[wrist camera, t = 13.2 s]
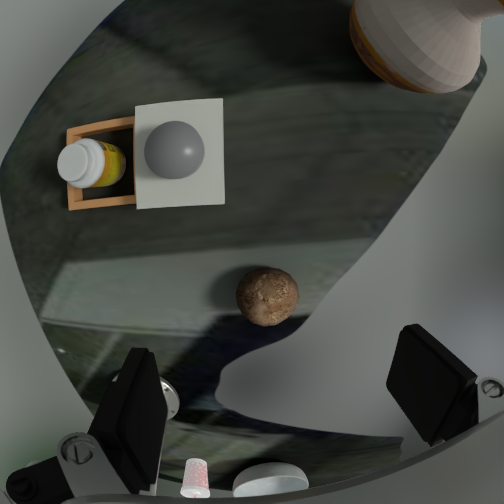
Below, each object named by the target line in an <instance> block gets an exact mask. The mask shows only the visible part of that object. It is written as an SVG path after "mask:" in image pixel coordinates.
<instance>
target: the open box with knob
mask: <svg viewBox="0 0 504 504" xmlns="http://www.w3.org/2000/svg"><path fill="white" fill-rule="evenodd" d="M128 128H133V161H134V189H135V195H126V196H116V197H107V198H98V199H90V200H83V198H82V188H76V187H73V186H72V185H70V184H69V183H68V182H67V189H68V204H69V210H76V209H85V208H94V207H103V206H113V205H124V204H135V203H137V209H145V208H159V207H175V206H192V205H213V204H225V190H224V146H223V98H219V99H199V100H186V101H175V102H165V103H157V104H149V105H142V106H135V116H130V117H124V118H118V119H113V120H107V121H102V122H97V123H93V124H88V125H84V126H79V127H75V128H71V129H67V146H68V145H70V144H73V143H74V142H76V141H78V140H80V139H81V137H84V136H89V135H94V134H99V133H104V132H110V131H116V130H122V129H128Z"/></svg>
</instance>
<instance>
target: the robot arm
mask: <svg viewBox="0 0 504 504" xmlns="http://www.w3.org/2000/svg"><path fill="white" fill-rule="evenodd" d="M477 377H478V376H477V375H476V374H475V373H474V372H473V371H472V370H470V368H468V367H467V366H466V365H465V364H464V363H463V362H462V361H461V360H460V359H458V358H457V357H456V356H455V355H454V354H452V352H450V351H449V350H448V349H447V348H446V347H445V346H444V345H443V344H441V343H440V342H439V341H438V340H437V339H436V338H434V337H433V336H432V335H431V334H430V333H428V332H427V331H426V330H425V329H424V328H423V327H421V326H420V325H419V324H412V325H407V326H405V327H404V328H403V330H402V331H401V332H400V334H399V338H398V342H397V346H396V350H395V354H394V357H393V361H392V365H391V368H390V371H389V375H388V378H387V382H386V386H387V389H388V391H389V392H390V393H391V395H392V396H393V397H394V399H395V400H396V402H397V403H398V405H399V406H400V407H401V409H402V410H403V412H404V413H405V414H406V416H407V417H408V419H409V420H410V422H411V423H412V425H413V426H414V427H415V429H416V430H417V432H418V433H419V434H420V436H421V438H422V439H423V440H424V441H425V442H428V444H429V445H430V447H433V446H435V445H437V444H439V443H441V442H442V440H443V439H444V440H445V442H444V443H442V444H440V445H438V446H436V447H434V448H432V449H430V450H428V451H426V452H423V453H421V454H419V455H417V456H414V457H412V458H409V459H407V460H405V461H402V462H399V463H397V464H394V465H392V466H389V467H386V468H383V469H381V470H378V471H375V472H372V473H369V474H365V475H362V476H359V477H355V478H352V479H348V480H345V481H341V482H337V483H333V484H328V485H324V486H319V487H315V488H310V489H304V490H299V491H293V492H286V493H279V494H271V495H261V496H249V497H231V498H186V497H168V496H156V487H157V479H158V472H159V465H160V459H161V453H162V447H163V441H164V435H165V430H166V424H167V420H169V419H170V418H172V417H174V415H175V414H176V413H177V411H178V409H179V397H178V394H177V392H176V390H175V389H174V388H173V387H172V385H171V384H169V383H168V382H167V381H166V380H164V379H163V378H162V377H160V376H159V373H158V369H157V365H156V361H155V356H154V353H153V352H149V350H148V349H147V348H131V350H130V352H129V354H128V356H127V358H126V360H125V362H124V364H123V366H122V368H121V370H120V373H118V374H117V375H116V376H115V377H114V378H113V380H112V382H111V383H110V384H109V386H108V388H107V390H106V392H105V395H104V397H103V399H102V401H101V403H100V405H99V408H98V410H97V412H96V414H95V417H94V419H93V421H92V423H91V426H90V428H89V431H88V433H87V434H86V433H83V432H76V433H71V434H69V435H66V436H64V438H62V439H61V440H60V441H59V443H58V445H57V449H56V453H57V456H55V457H52V458H50V459H47V460H45V461H32V462H30V463H29V464H28V465H27V466H26V468H23V469H20V470H17V471H15V472H13V473H12V474H11V475H10V476H9V477H8V479H7V482H6V490H5V491H3V490H1V489H0V504H504V383H503V382H502V381H500V380H498V379H496V378H493V377H485V378H482V379H481V380H480V381H479V382H478V384H475V381H476V379H477Z"/></svg>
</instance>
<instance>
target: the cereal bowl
mask: <svg viewBox="0 0 504 504" xmlns="http://www.w3.org/2000/svg"><path fill="white" fill-rule="evenodd" d="M307 488H308V480H307V478H306V475H305V474H304V472H303V471H302V470H301V469H299V468H298V467H296V466H295V465H292V464H288V463H281V462H270V463H263V464H259V465H255V466H252V467H249V468H247V469H245V470H244V471H242V472H241V473H240V474H239V475H238V476H237V477H236V479H235V481H234V483H233V496H234V497H249V496H261V495H271V494H279V493H286V492H293V491H299V490H304V489H307Z"/></svg>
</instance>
